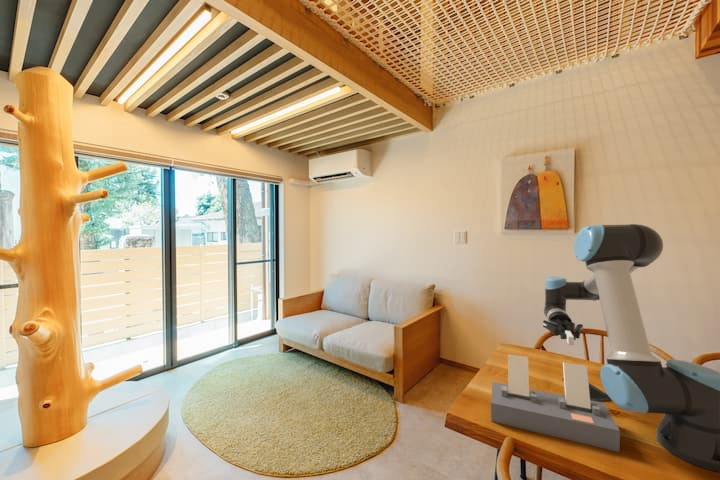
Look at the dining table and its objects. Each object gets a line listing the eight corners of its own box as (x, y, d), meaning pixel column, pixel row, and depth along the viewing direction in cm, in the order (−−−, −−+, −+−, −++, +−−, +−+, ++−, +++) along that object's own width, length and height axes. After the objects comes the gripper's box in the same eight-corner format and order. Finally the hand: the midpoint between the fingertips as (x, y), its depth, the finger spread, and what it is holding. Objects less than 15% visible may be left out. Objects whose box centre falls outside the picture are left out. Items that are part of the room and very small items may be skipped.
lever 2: (565, 403, 93) (562, 362, 97) (589, 408, 90) (585, 365, 94) (566, 404, 91) (563, 362, 95) (590, 408, 88) (586, 365, 92)
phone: (592, 399, 104) (561, 378, 119) (592, 403, 104) (561, 380, 119) (614, 398, 104) (579, 376, 119) (614, 401, 104) (579, 379, 119)
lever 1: (508, 392, 100) (507, 354, 104) (528, 396, 97) (527, 357, 101) (508, 392, 98) (508, 354, 102) (529, 396, 95) (528, 357, 99)
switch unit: (492, 398, 107) (492, 376, 107) (603, 421, 93) (604, 396, 93) (491, 421, 95) (491, 396, 94) (619, 452, 81) (620, 423, 80)
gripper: (578, 331, 118) (595, 355, 96) (540, 327, 123) (548, 348, 102) (578, 312, 117) (595, 332, 96) (540, 309, 123) (548, 327, 102)
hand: (571, 341), depth 99 cm, fingers closed
